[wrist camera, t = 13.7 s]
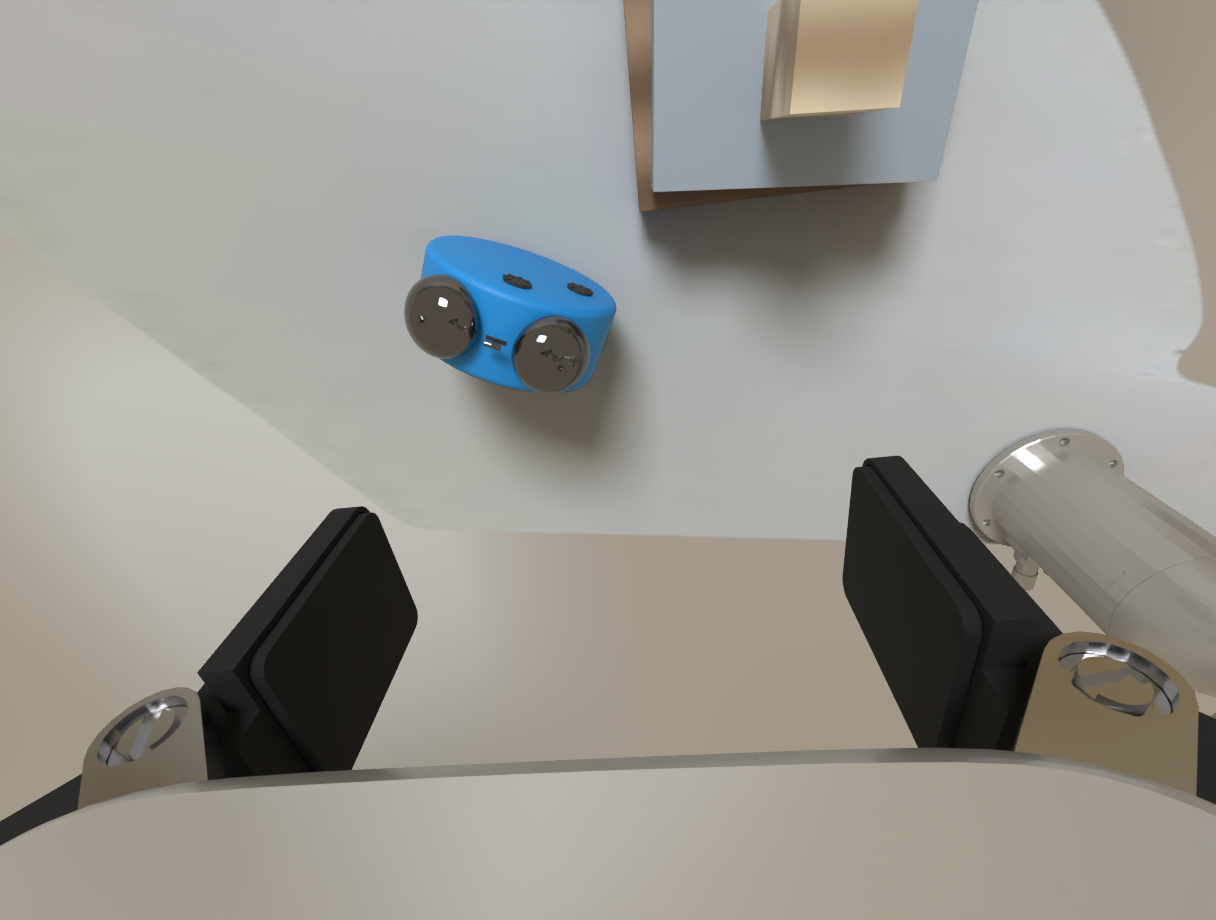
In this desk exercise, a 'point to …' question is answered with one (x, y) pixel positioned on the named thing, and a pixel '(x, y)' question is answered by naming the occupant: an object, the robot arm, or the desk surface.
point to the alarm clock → (508, 315)
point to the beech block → (835, 57)
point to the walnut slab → (641, 93)
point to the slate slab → (790, 148)
